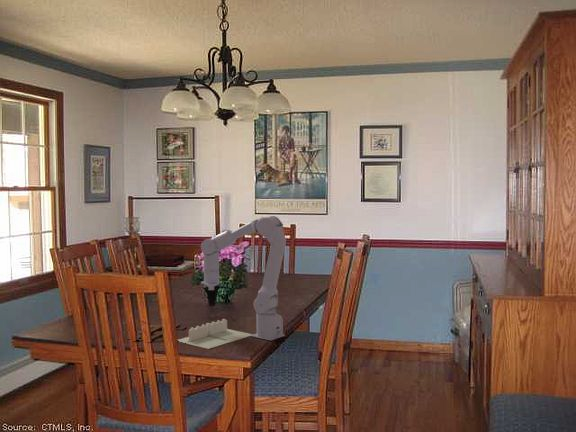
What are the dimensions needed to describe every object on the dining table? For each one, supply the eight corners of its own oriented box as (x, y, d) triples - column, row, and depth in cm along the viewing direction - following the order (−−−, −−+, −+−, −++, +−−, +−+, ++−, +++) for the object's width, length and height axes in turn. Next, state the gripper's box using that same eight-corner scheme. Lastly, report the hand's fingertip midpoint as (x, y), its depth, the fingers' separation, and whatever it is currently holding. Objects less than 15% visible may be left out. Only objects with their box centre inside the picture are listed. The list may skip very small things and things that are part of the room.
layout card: (253, 335, 214) (253, 334, 214) (208, 349, 197) (208, 348, 197) (221, 328, 225) (221, 327, 225) (175, 341, 207) (175, 340, 207)
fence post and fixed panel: (211, 335, 213) (211, 323, 213) (191, 341, 205) (190, 328, 205) (208, 335, 214) (208, 322, 214) (188, 341, 206) (187, 328, 206)
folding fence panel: (211, 335, 214) (211, 322, 213) (210, 334, 214) (209, 322, 214) (227, 330, 220) (226, 318, 220) (225, 330, 220) (225, 318, 220)
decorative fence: (188, 329, 227) (153, 326, 231) (188, 324, 227) (153, 322, 231) (159, 345, 205) (121, 342, 209) (159, 340, 205) (121, 337, 209)
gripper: (201, 267, 226) (202, 302, 227) (200, 273, 212) (200, 310, 212) (219, 267, 227) (220, 301, 227) (219, 272, 212) (219, 309, 213)
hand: (212, 305), depth 220 cm, fingers closed
